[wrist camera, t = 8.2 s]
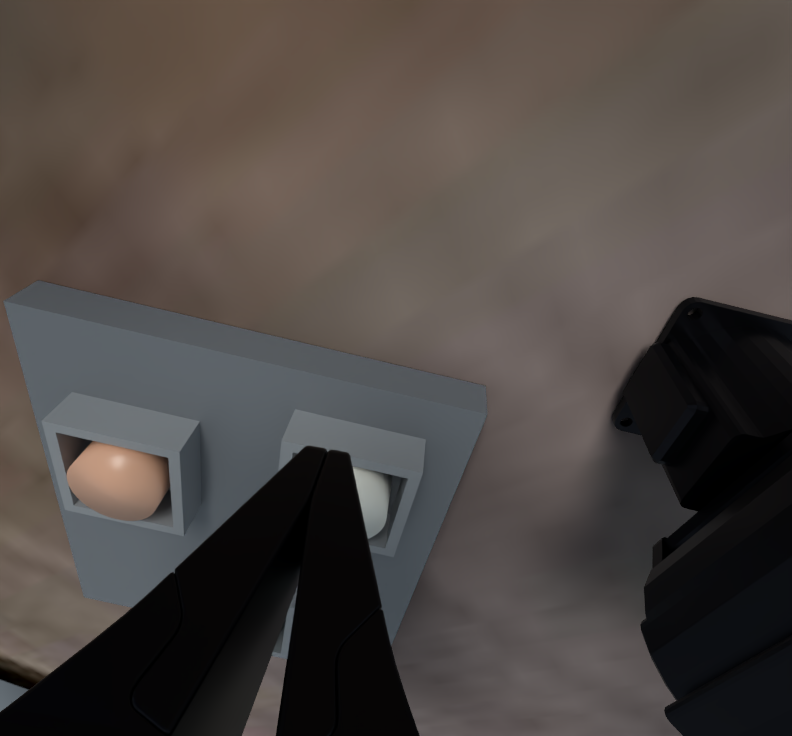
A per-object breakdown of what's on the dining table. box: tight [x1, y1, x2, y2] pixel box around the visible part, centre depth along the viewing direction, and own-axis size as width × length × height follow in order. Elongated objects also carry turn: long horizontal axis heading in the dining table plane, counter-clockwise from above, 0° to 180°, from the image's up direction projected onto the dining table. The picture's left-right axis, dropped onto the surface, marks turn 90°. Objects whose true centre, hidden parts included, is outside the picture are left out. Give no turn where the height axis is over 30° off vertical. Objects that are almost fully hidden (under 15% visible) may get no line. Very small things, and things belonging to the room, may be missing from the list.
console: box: [4, 280, 487, 659], centre depth 27 cm, size 20×22×4 cm
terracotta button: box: [67, 441, 170, 521], centre depth 23 cm, size 4×4×2 cm
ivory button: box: [353, 466, 392, 539], centre depth 22 cm, size 4×4×2 cm
